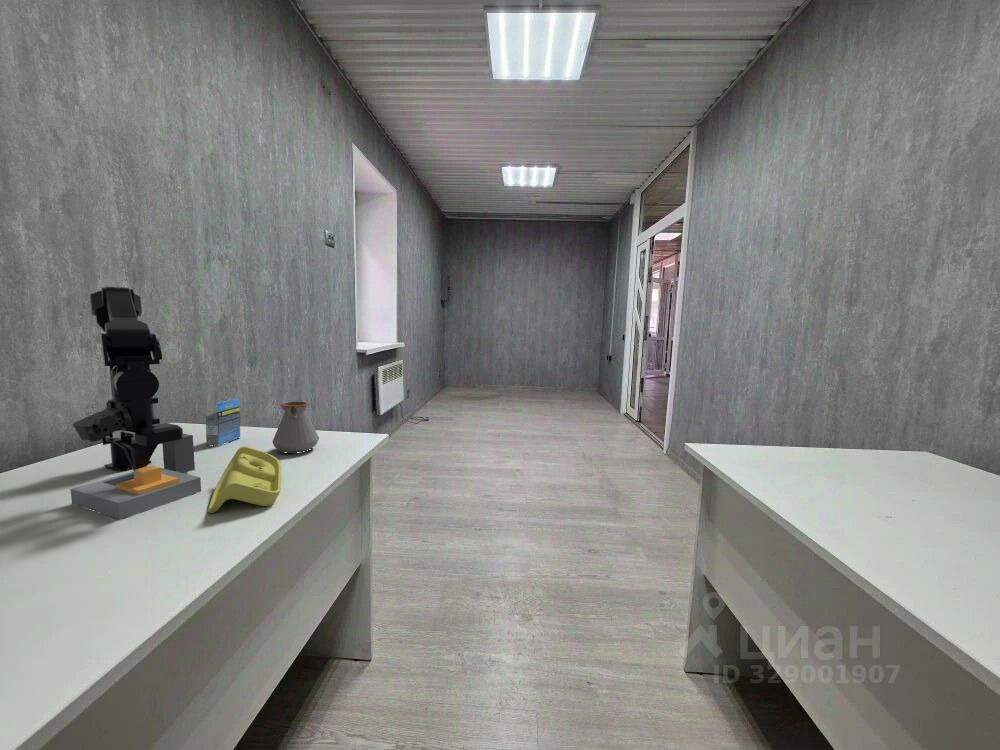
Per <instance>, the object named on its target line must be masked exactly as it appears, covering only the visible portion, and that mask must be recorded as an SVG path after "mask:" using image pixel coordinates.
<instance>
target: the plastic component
mask: <svg viewBox="0 0 1000 750" xmlns="http://www.w3.org/2000/svg"><path fill="white" fill-rule="evenodd" d="M281 491H282V464H281V462H280V460H279V459H278V458H277V457H276V456H274V455H271V454H270V453H267V452H266V451H263V450H259V449H256V448H253V447H249V446H245V445H244V446H241V447H239V448H237V450H236V452H235V453H234V455H233V457H232V458H231V460H230V461H229V463H228V465H227V466H226V467H225V469H224V471H223V473H222V474H221V476H220V478H219V481H217V484H216V487H214V491H213V493H212V495H211V499H210V501H209V502H210V503H209V505H208V508H207V511H206V512H208V513H210V514H213V513H216V512H217V511H218V510H220V508H221V507H222V506H223V504H224V503H225V502H227V501H228V500H237V501H241V502H245V503H249V504H253V505H257V506H261V507H270V506H273V505H274V504H275V503H276V501H277V499H278V497H279V495H280V493H281Z"/></svg>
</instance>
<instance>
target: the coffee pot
mask: <svg viewBox="0 0 1000 750" xmlns="http://www.w3.org/2000/svg"><path fill="white" fill-rule="evenodd" d="M308 405H309V403H308V402H307V401H290V402H288V401H287V402H284V403H282V404H280V407H281V408H282V409H283V410H284V413H283V415H282V418H281V420H280V422H279V425H278V427H277V429H276V432H275V434H274V437H273V439H272V445H273V446H274V448H276V449H277V450H278V451H280V452H281V451H282V452H287V453H297V452H303V451H307V450H309V449H311V448H312V449H313V448H314V447H315V446H316V445H317V444H318V442H319V439H320V435H319V434H318V432H317V430H316V429H315V427H314V424H313V422H312V420H311V418H310V417H309V414H308V413H307V406H308ZM312 449H311V450H312ZM282 452H281V453H282Z"/></svg>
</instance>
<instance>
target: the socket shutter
mask: <svg viewBox="0 0 1000 750" xmlns="http://www.w3.org/2000/svg"><path fill="white" fill-rule="evenodd" d="M132 472H134V479H133V480H129V481H126V482H122V483H118V484H115V485H116V489H120V490H123V491H127V492H131V493H134V494H138V495H140V494H143V493H146V492H149V491H153V490H156V489H159V488H162V487H165V486H168V485H172V484H175V483H178V482H179V478H177V477H172V476H168V475H164V474H161V466H156V465H152V464H151V465H147V466H146V467H142V468H139V469H135V470H133V469H132Z"/></svg>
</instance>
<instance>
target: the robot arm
mask: <svg viewBox="0 0 1000 750" xmlns="http://www.w3.org/2000/svg"><path fill="white" fill-rule="evenodd" d="M89 306H90V315H91V316H94V317H95V323H96V325H97V326H98V327H99V328H100V329H101V330H102V332H103V333H100V343H101V351H102V357H103V364H104V366H105V367H108V370H109V381H110V382H109V383H110V390H111V391H110V392H111V398H110V399H107V402H106V404H105V405H106V406H105V408H104V409H103V410H101V411H98V412H95V413H93V414H91V415H88V416H86V417H84V418H82V419H79V420H77V421H75V422H73V424H72V426H73V428H74V429H75V431H76V433H77V434H78V436H79V437H80V439H81V440H82V441H85V440H87V441H89V442H93V443H94V442H98V441H101V442H102V446H107V445H110V456H111V462H110V463H107V464H104V468H107V469H111V470H116V471H118V472H119V471H120V472H121V471H122V472H123V471H125V470H129V469H132V471H133V470H135V469H139V468H142V467H146V466H148V465H149V464H152V460H151V458H152V456H153V454H154V452H155V450H156V449H157V447H158V446H159V445H162V443H166V442H171V441H175V440H180V439H183V434H184V430H183V428H182V426H180V425H179V424H173V423H167V422H165V423H161V421H160V418H158V417H155V412H154V409H155V408H154V404H159V397H154V396H155V395H156V393H157V392H158V390H159V389H160V388H159V387H160V383H159V382H160V381H159V379H158V377H157V375H155V374H154V373H153V372H152V371H151V370H152V369H151V368H150V365H160V364H161V363H160V360H161V361H162V360H163V354H162V352H163V351H162V348H161V345H160V340H159V339H158V338H157V335H156V334H155V333H152V332H151V329H150V327H149V325H148V324H147V323H146V322H143V321H140V320H139V317H142V313H143V310H142V309H143V308H142V298H141V296H140V295H138V294H136V293H135V292H134V289H133V288H129V287H123V286H121V287H120V286H118V287H117V286H105V287H101V290H99V291H96V292H93V293H90V295H89Z"/></svg>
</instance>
